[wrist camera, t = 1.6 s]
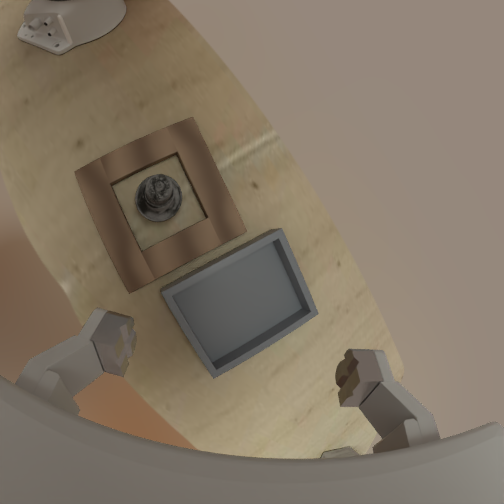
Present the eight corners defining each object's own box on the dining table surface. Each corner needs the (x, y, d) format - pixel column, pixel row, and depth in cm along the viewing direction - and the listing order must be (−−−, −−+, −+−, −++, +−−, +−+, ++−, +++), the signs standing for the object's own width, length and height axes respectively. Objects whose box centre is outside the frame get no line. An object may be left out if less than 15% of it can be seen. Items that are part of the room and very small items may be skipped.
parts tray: (208, 368, 39) (213, 378, 36) (160, 288, 37) (161, 292, 33) (307, 308, 44) (318, 313, 41) (271, 229, 42) (281, 228, 38)
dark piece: (187, 194, 37) (201, 174, 26) (165, 231, 37) (169, 227, 25) (152, 172, 36) (151, 143, 24) (129, 209, 35) (117, 195, 24)
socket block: (130, 291, 35) (129, 293, 34) (77, 174, 32) (74, 171, 31) (244, 231, 40) (247, 231, 39) (191, 121, 37) (192, 116, 36)
